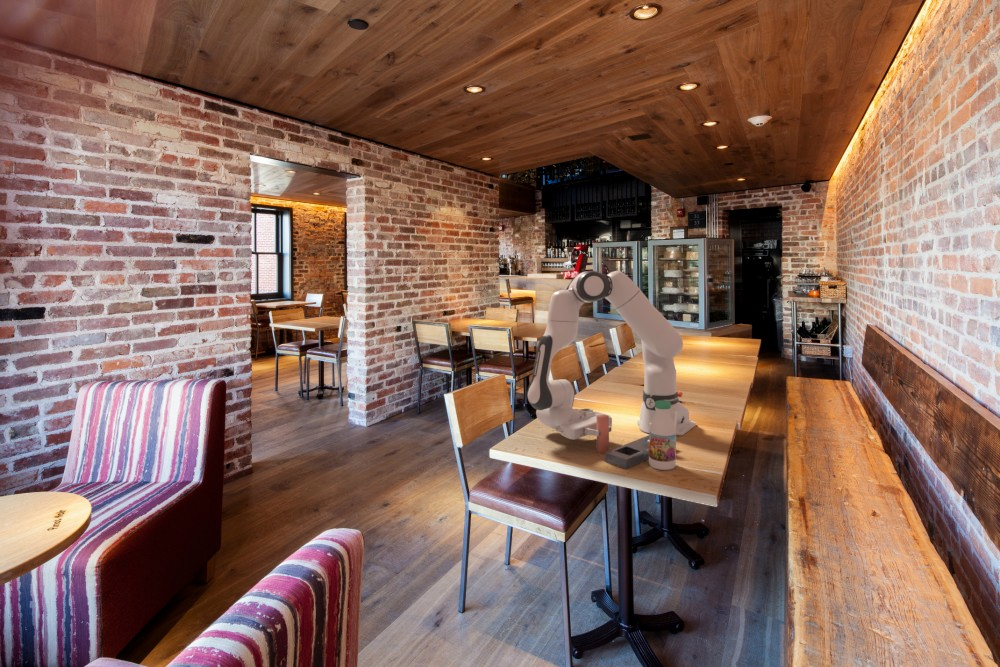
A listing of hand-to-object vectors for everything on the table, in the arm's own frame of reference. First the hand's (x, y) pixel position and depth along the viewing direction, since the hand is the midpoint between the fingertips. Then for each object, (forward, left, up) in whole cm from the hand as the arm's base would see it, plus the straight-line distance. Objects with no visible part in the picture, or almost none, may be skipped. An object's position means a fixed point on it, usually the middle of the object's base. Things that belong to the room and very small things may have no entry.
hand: (604, 431), depth 160 cm
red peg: (0, -1, -7) cm, 7 cm away
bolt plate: (-6, +9, -7) cm, 13 cm away
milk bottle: (-4, +19, -7) cm, 20 cm away
